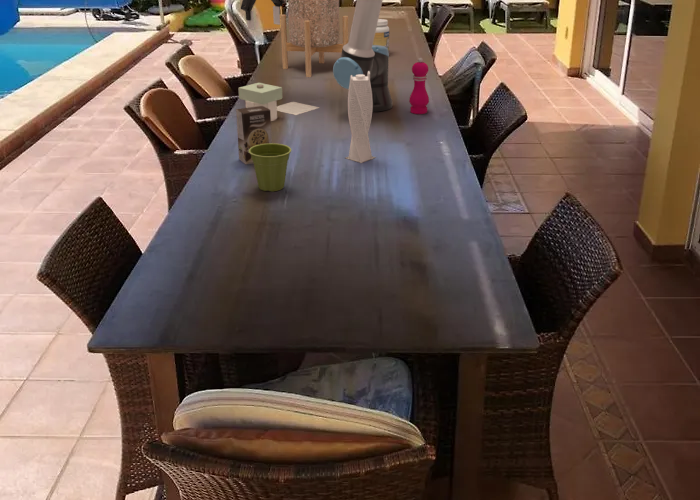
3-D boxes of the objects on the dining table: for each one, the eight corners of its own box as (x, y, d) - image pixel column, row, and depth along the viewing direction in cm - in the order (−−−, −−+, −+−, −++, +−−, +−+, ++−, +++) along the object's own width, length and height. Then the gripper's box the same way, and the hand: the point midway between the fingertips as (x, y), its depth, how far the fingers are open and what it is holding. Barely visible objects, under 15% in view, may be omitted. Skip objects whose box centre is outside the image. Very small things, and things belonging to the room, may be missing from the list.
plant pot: (276, 198, 216) (274, 159, 211) (242, 190, 222) (239, 151, 217) (301, 185, 225) (299, 147, 220) (268, 177, 231) (266, 140, 226)
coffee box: (245, 165, 241) (242, 113, 234) (238, 159, 246) (234, 108, 239) (273, 160, 245) (270, 109, 238) (265, 154, 250) (262, 104, 243)
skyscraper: (379, 159, 245) (380, 69, 233) (362, 166, 240) (362, 74, 228) (359, 153, 251) (359, 65, 239) (342, 160, 245) (341, 70, 233)
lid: (282, 98, 283) (282, 85, 281) (262, 104, 276) (261, 90, 274) (259, 93, 290) (258, 80, 288) (239, 98, 283) (238, 85, 281)
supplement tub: (389, 58, 378) (390, 22, 371) (364, 58, 378) (364, 22, 371) (388, 53, 389) (389, 18, 382) (364, 53, 389) (364, 18, 382)
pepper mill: (427, 115, 289) (429, 60, 281) (407, 114, 291) (409, 59, 282) (429, 109, 296) (431, 56, 287) (410, 108, 297) (411, 55, 288)
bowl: (283, 118, 287) (282, 98, 283) (261, 125, 279) (260, 104, 276) (262, 113, 293) (261, 93, 290) (240, 119, 285) (239, 99, 282)
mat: (319, 108, 298) (319, 107, 298) (296, 116, 289) (296, 115, 289) (292, 102, 306) (292, 101, 306) (269, 109, 297) (268, 108, 297)
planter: (350, 70, 356) (348, -4, 342) (307, 78, 345) (304, 1, 330) (323, 62, 373) (320, -10, 359) (281, 69, 361) (277, -5, 347)
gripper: (277, -37, 296) (280, 21, 306) (228, -31, 279) (232, 30, 288) (292, -36, 292) (294, 23, 301) (242, -30, 275) (246, 32, 284)
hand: (264, 26), depth 295 cm, fingers open, 13 cm apart
